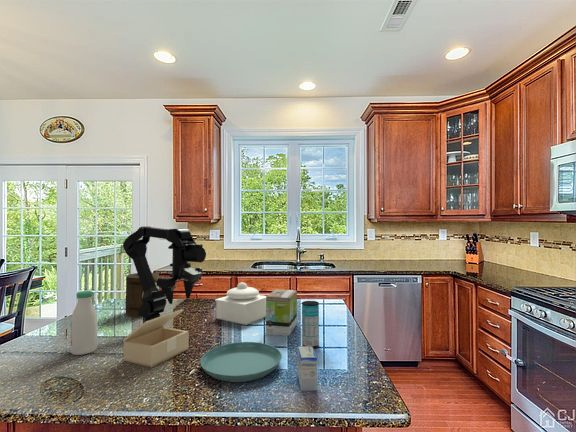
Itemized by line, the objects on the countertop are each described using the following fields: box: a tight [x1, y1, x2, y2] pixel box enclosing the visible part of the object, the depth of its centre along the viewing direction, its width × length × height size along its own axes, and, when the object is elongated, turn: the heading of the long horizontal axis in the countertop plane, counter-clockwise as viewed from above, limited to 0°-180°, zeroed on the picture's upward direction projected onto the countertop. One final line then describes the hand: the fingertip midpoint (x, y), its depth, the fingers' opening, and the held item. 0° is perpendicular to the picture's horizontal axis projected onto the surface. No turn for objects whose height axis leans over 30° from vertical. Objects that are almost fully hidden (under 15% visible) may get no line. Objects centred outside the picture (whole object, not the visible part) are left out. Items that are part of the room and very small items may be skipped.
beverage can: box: [301, 300, 320, 349], centre depth 118 cm, size 6×6×15 cm
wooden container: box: [124, 272, 160, 317], centre depth 161 cm, size 15×15×22 cm
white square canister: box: [214, 281, 267, 326], centre depth 153 cm, size 18×18×16 cm
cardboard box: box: [123, 326, 190, 368], centre depth 110 cm, size 12×16×6 cm
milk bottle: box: [70, 290, 98, 356], centre depth 114 cm, size 8×8×20 cm
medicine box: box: [296, 346, 318, 392], centre depth 90 cm, size 8×4×9 cm, turn 5°
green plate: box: [200, 341, 283, 383], centre depth 101 cm, size 24×24×3 cm
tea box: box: [265, 288, 298, 336], centre depth 136 cm, size 15×10×15 cm, turn 168°
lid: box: [122, 308, 184, 342], centre depth 111 cm, size 12×16×1 cm
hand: (179, 301), depth 130 cm, fingers open, 9 cm apart
